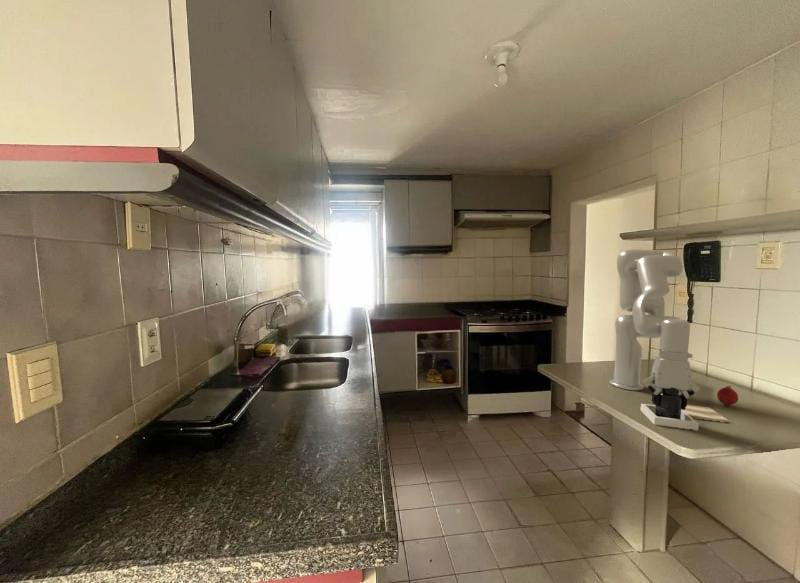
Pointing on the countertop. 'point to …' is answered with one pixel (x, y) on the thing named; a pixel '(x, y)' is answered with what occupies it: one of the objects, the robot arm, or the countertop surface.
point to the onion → (727, 396)
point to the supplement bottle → (669, 404)
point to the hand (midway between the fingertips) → (668, 406)
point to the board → (704, 413)
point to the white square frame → (685, 423)
